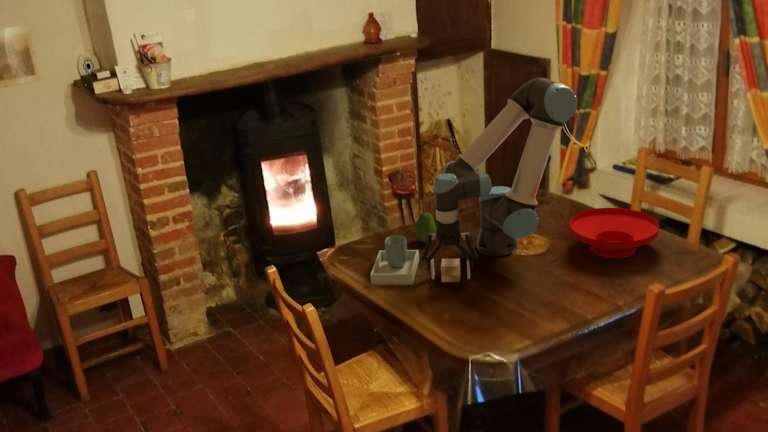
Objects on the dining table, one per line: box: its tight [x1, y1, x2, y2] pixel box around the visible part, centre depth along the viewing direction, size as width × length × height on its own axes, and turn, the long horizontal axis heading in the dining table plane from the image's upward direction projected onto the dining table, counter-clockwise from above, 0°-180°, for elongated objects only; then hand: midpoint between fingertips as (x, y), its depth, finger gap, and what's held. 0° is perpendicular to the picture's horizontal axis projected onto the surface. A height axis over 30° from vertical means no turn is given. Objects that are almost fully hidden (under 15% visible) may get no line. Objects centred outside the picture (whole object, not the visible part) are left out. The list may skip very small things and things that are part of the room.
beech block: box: [440, 258, 462, 283], centre depth 281 cm, size 6×6×6 cm
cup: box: [384, 235, 408, 268], centre depth 292 cm, size 8×8×10 cm
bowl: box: [568, 207, 660, 259], centre depth 291 cm, size 30×30×10 cm
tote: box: [369, 249, 420, 286], centre depth 290 cm, size 14×19×4 cm
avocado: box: [414, 212, 437, 244], centre depth 310 cm, size 8×8×12 cm
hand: (451, 277), depth 283 cm, fingers open, 12 cm apart
